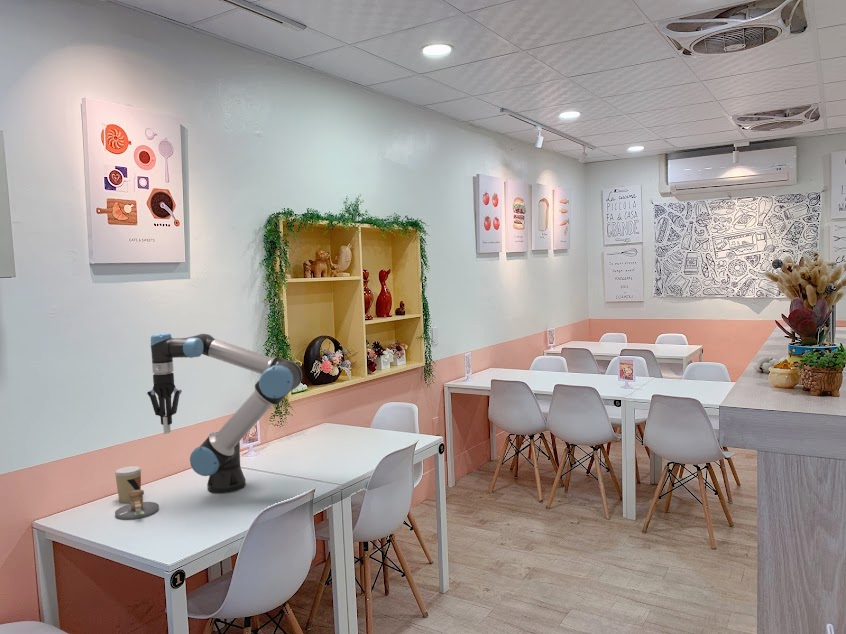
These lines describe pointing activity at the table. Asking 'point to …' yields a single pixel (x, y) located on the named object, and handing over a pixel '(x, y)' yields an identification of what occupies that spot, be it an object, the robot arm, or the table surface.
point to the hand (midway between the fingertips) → (167, 432)
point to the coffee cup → (127, 482)
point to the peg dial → (136, 499)
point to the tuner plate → (129, 514)
